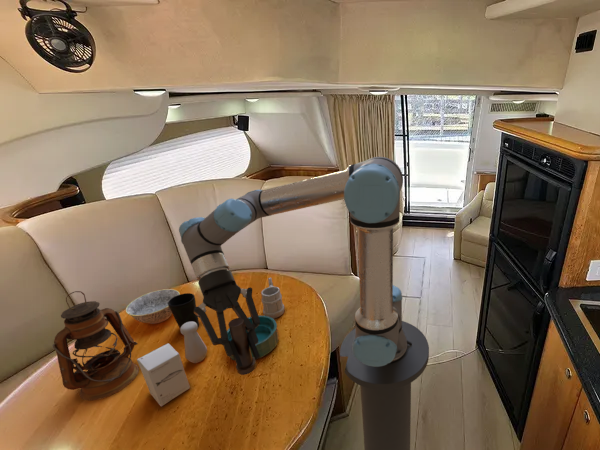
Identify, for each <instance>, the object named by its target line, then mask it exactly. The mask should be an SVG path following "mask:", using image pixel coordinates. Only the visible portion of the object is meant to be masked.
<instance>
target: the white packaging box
mask: <svg viewBox="0 0 600 450" xmlns="http://www.w3.org/2000/svg"><path fill="white" fill-rule="evenodd" d="M136 361H137V364H138V367H139V370H140V371H141V374H142V377H143V378H144V382H145V384H146V386H147V389H148V392H149V394H150V396H152V397H153V399H154V400H155V402H156V403H157V404H158V405H159V406H160V407H161V408H162V407H163V406H165V405H166V404H168V403H170V401H172V400H173V399H175V398H177V397H178V396H180V395H182V394H183V393H185V392H186V391H188V390H189V389H191V385H190V382H189V380H188V377H187V374H186V371H185V368H184V364H183V361H182V358H181V355H180V353H179V352H178V351H177V350H176V349H175V348H174V347H173V346H172V345H171V344H170V343H165V344H163V345H162V346H160V347H158V348H156V349H154V350H152V351H150V352H148V353H146V354H145V355H143V356H141V357H138V358H136Z"/></svg>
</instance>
